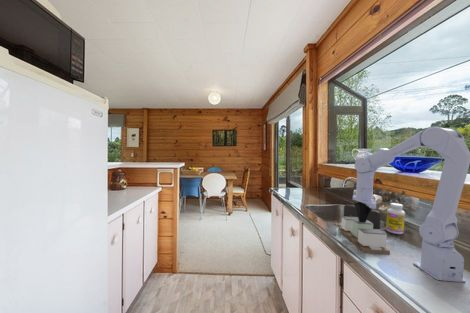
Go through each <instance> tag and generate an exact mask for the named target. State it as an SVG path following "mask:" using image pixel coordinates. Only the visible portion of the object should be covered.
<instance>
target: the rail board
mask: <svg viewBox="0 0 470 313" xmlns="http://www.w3.org/2000/svg"><path fill="white" fill-rule="evenodd" d="M339 230H340V231H341V232H342V233H341V232H340V231H339ZM338 231H339V232H340V233H341V234H342V235H343V236H345V237H346V238H347V239H348V240H349V241H350V242H352V243H353V244H354V246H356V247H357V248H358V249H359V250H360V251H362V252H363V253H367V254H368V253H370V254H379V255H380V254H381V255H390V252H391V250H390V249H388V248H387V247H376V246H363V245H362V244H361V243H359V242H358V238H356V237H355V236H354V235H353V234H352V231H345V230H344V229H343V228H342V227H340V226H339V227H338Z"/></svg>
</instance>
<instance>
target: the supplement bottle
mask: <svg viewBox="0 0 470 313" xmlns="http://www.w3.org/2000/svg"><path fill="white" fill-rule="evenodd" d="M389 204H390V206H389V208H387V211H386V220H385V230H386V231H387V232H388V233H391V234H396V235H403V234H404V231H405V230H404V229H405V219H406V217H405V216H406V212H405V210H403V208H404V205H403V204H402V203H397V202H391V203H389Z"/></svg>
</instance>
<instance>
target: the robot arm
mask: <svg viewBox="0 0 470 313" xmlns="http://www.w3.org/2000/svg"><path fill="white" fill-rule="evenodd" d="M418 148H428V149H431V150H432V151H435V152H436V153H437V154H438V155H439V156H440V157H441V158H442V159H443V160H444V163H443V167H442V171H441V174H440V179H439V182H438V185H437V189H436V193H435V196H434V201H433V203H432V204H433V205H432V209H431V210H430V212H429V213H428V214H427V215H426V217H425V220H424V222H422V223H421V224H420V226H419V228H418V232H419V236H420V237H421V238H422V241H421V251H420V252H421V255H420V262H419V261H413V265H415V266H416V267H417V268H419V269H421V270H422V271H424V272H425V273H426V274H428V275H429V276H431V277H432V278H434V280H438V281H445V282H446V281H447V282H448V281H450V282H457V283H459V282H462V283H466V282H467V280H466V279H465V278H464V268H465V259H464V256H463V255H462V254H461V253H460V252H458V251H457V249H456V248H455V242H454V240H456V239H457V237H458V236H459V234H460V233H459V232H460V231H459V228H458V221H459V219H458V218H457V215H456V214H457V210H458V206H459V205H460V204H459V203H460V200H461V196H462V192H463V189H464V186H465V182H466V179H467V176H468V175H467V174H468V171H469V169H470V168H469V167H470V150H469V148H468V146H467V143H466V140H465V136H464V135H462V134H461V133H460V132H459V131H457V130H455V129H452V128H443V127H440V126H430V127H427V128H426V129H424V130H421V131H418V132H417V133H415V134H414V135H412V136H411V137H408V138H407V139H404V140H403V141H402V142H400V143H398V144H396V145H394V146H392V147H391V148H389V149H388V148H385V147H384V148H377V149H376V151H375V152H374V153H372V154H367V155H366V157H365V158H364V157H358V159H356V160H355V162H354V169H355V170H356V171H357V172H356V186H355V187H356V188H355V195H354V194H353V195H352V201H356V202H354V203H353V205H355V207H356V210H357V214H358V219H359V221H360V222H366V220H367V217H368V215H369V213H370V211H371V210H372V209H373V210H376V209H377V202H376V200H375V198H374V199H373V188H374V176H375V173H376V171H377V170H378V169H380V168H383V167H384V166H386V165H389V164H391V163H393V162H394V161H395V159H396V157H398V156H401V155H404V154H405V153H408V152H411V151H413V150H416V149H418Z"/></svg>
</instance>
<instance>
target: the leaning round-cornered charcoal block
mask: <svg viewBox="0 0 470 313" xmlns="http://www.w3.org/2000/svg"><path fill="white" fill-rule="evenodd" d="M343 216H346V217H358V214H357V210H356V207H355V205H354V204H345V205H344V206H343ZM381 217H382V215H381V212H380V211H379V210H376V209H372V210H371V211H370V213H369V215H368V217H367V220H368V221H370V222H372V223H373V229H380V230H381Z"/></svg>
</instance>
